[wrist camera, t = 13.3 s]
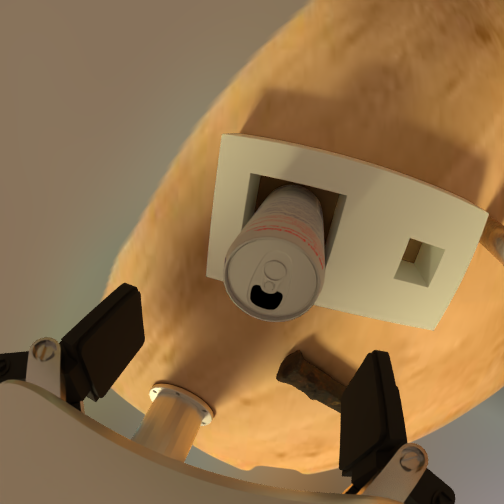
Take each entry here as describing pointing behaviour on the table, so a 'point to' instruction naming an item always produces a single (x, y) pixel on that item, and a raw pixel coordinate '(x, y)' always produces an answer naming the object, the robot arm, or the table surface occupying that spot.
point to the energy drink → (278, 257)
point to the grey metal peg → (493, 238)
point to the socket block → (356, 228)
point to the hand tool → (311, 381)
